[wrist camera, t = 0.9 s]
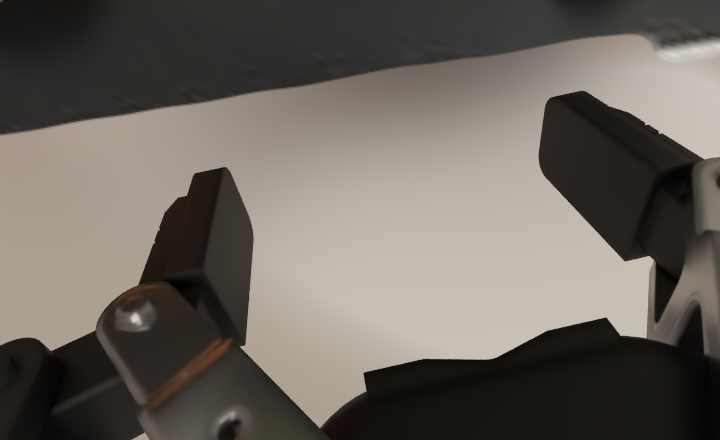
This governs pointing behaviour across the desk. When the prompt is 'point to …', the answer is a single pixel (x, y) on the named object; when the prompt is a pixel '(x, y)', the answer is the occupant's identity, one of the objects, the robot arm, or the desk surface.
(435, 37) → the desk surface
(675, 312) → the robot arm
